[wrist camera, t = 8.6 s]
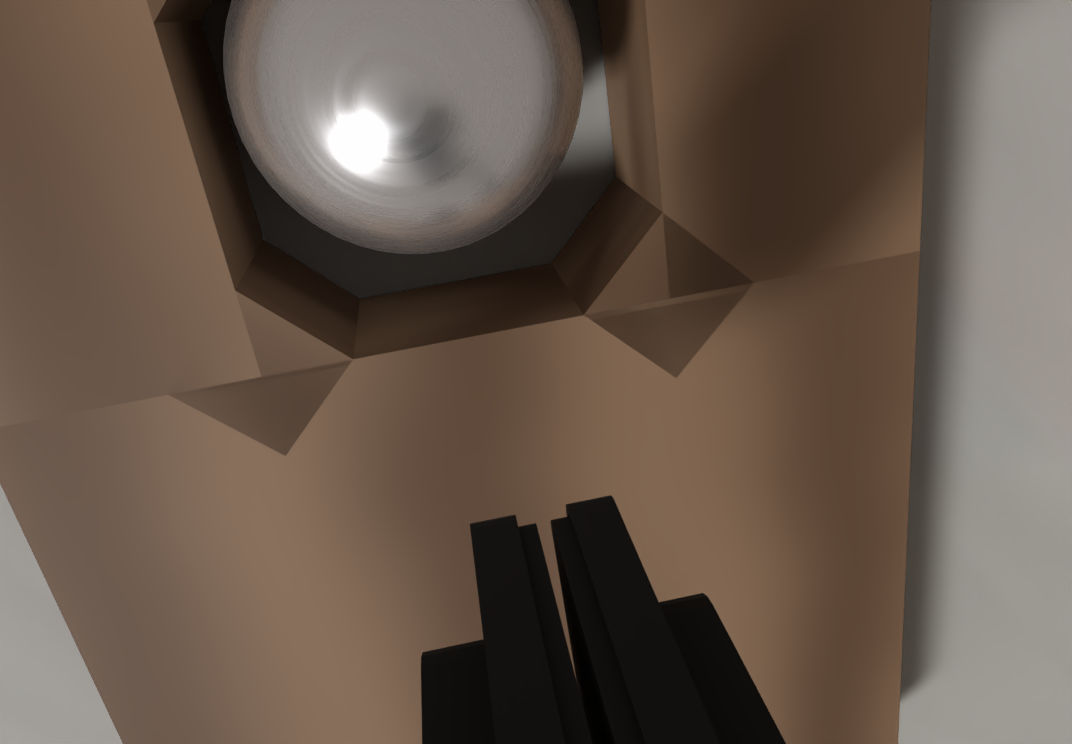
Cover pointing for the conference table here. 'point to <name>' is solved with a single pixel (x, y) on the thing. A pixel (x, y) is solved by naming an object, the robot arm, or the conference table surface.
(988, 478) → the conference table surface
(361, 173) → the ball
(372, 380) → the deck
